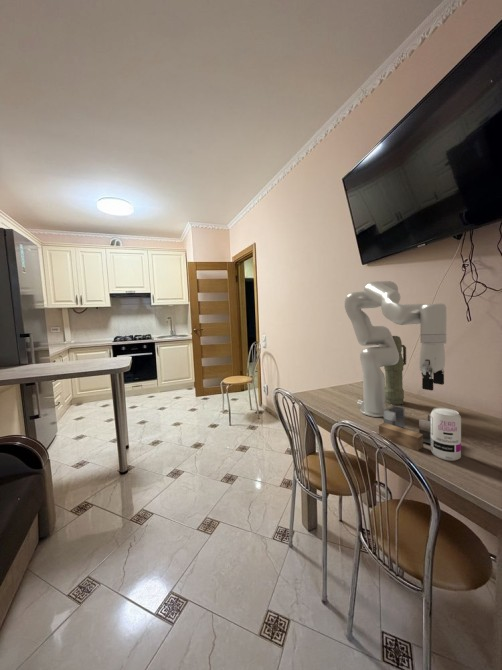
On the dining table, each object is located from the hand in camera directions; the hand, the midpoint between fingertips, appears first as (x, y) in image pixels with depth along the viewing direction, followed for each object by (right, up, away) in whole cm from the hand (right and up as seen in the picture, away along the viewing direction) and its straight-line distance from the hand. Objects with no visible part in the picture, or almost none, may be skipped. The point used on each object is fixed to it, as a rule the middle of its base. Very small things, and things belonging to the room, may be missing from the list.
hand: (433, 386), depth 95 cm
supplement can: (0, -22, -6) cm, 23 cm away
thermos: (+11, -17, +46) cm, 50 cm away
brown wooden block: (-9, -22, +5) cm, 24 cm away
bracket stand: (-2, -21, +10) cm, 23 cm away
